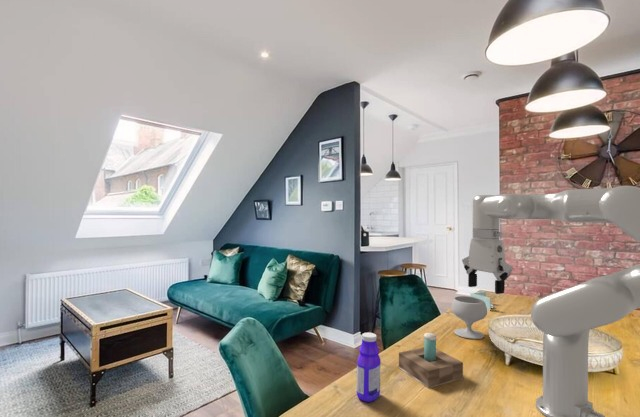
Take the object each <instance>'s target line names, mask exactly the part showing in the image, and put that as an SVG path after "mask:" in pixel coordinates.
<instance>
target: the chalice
mask: <svg viewBox="0 0 640 417" xmlns="http://www.w3.org/2000/svg"><path fill="white" fill-rule="evenodd" d="M451 311H452V313H453V314H454V315H455V316H456V317H457V318H459V319H460V320H462V321H463V322H465V325H466V327H465V328H463V327H462V328H456V329H454V330H453V333H454V334H455V335H456V336H459V337H460V338H461V337H462V338H464V339H469V340H481V339H484V338H485V337H484V335H485V334H484V333H483V332H481V331H479V330H478V329H477V330H476V329H472V325H473V324H474V323H476V322H479V321H482V320H484V319H485V318H486V317H487V315H488V311H487V307H486V304H485V302H484V301H483V300H482V299H479V298H475V297H470V296H466V295H465V296H464V295H462V296H461V295H460V296H455V297H454V299H453V300H452V303H451ZM483 337H484V338H483Z"/></svg>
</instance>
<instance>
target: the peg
mask: <svg viewBox="0 0 640 417" xmlns="http://www.w3.org/2000/svg"><path fill="white" fill-rule="evenodd" d="M423 336H424V337H423V338H424V344H423V345H424V347H423V348H424V359H425V360H426V361H428V362H433V361H436V349H437V335H436V334H435V333H432V332H425V333H424V334H423Z"/></svg>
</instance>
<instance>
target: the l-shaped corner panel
mask: <svg viewBox="0 0 640 417" xmlns="http://www.w3.org/2000/svg"><path fill="white" fill-rule="evenodd" d="M486 293H487V292H486V291H485V290H484V291H477V292H470V294H469V295H470V296H469V297H475V298H479V299H482V300H483V301H484V302H485V304H486V307H487V309H489V310H491V311H492V309H491V307H493V308H495V307H494V304H492V298H491V297H488V296H487V294H486Z"/></svg>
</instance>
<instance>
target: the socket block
mask: <svg viewBox="0 0 640 417" xmlns="http://www.w3.org/2000/svg"><path fill="white" fill-rule="evenodd" d="M397 368H398V369H399V370H402V371H403V372H404V373H405V374H406V375H408V376H410V377H411V378H413V379H414V380H416V381H417V382H418V383H420V384H421V385H422V386H424V387H426V388H427V389H431V388H435V387H438V386H441V385H445V384H449V383H453V382H457V381H460V380H464V379H465V378H464V361H461V360H459V359H457V358H455V357H453V356H451V355H449V354H447V353H445V352H444V351H442V350H440V349H438V348H436V361H433V362H428V361H426V360H425V359H424V347H420V348H415V349H411V350H406V351H405V350H404V351H401V352H398V366H397Z"/></svg>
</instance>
